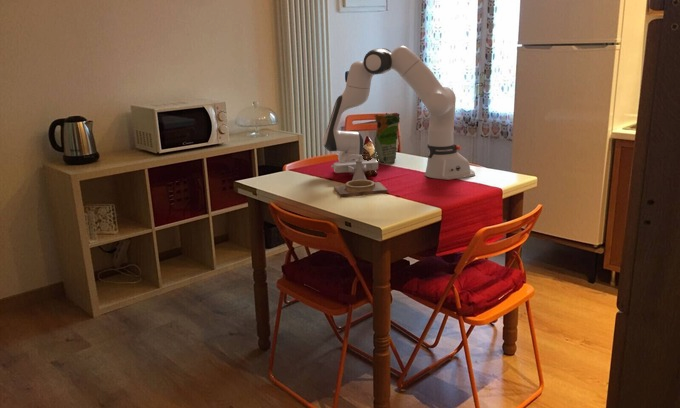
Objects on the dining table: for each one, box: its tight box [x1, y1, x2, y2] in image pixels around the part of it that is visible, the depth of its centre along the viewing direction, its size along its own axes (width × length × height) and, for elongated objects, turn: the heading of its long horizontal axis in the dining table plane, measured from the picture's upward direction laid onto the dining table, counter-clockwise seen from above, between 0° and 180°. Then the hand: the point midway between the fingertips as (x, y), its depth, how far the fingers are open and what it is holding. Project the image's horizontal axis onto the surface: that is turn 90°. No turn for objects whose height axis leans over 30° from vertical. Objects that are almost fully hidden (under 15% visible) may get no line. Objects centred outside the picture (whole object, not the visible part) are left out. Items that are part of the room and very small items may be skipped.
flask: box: [351, 160, 368, 181], centre depth 257 cm, size 7×7×10 cm
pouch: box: [373, 112, 401, 165], centre depth 292 cm, size 11×12×25 cm
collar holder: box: [333, 179, 388, 199], centre depth 244 cm, size 20×13×4 cm, turn 102°
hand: (359, 169), depth 255 cm, fingers closed on flask, 3 cm apart
